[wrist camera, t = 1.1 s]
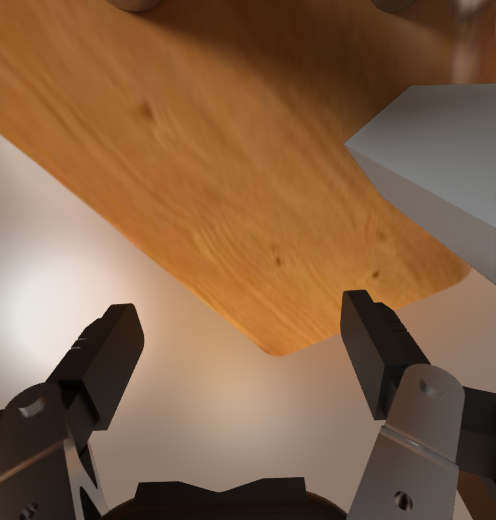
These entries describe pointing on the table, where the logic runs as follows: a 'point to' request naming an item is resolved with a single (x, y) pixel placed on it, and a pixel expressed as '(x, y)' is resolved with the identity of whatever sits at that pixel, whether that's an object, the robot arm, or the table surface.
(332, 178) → the table surface
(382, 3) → the cork
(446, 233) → the stand
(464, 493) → the walnut bar
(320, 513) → the robot arm
